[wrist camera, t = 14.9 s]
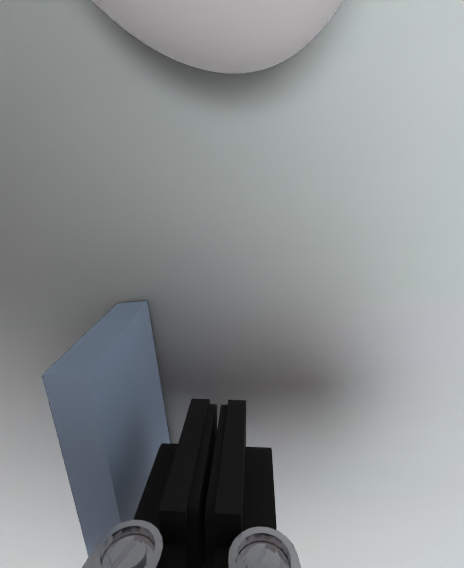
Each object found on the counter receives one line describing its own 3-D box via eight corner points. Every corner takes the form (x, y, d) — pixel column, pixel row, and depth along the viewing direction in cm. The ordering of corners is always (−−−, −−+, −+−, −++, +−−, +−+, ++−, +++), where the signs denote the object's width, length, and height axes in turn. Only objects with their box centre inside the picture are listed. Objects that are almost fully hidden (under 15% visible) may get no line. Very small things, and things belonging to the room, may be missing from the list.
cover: (170, 591, 16) (136, 766, 11) (117, 300, 12) (34, 377, 8) (198, 590, 16) (176, 767, 11) (152, 298, 12) (90, 374, 8)
